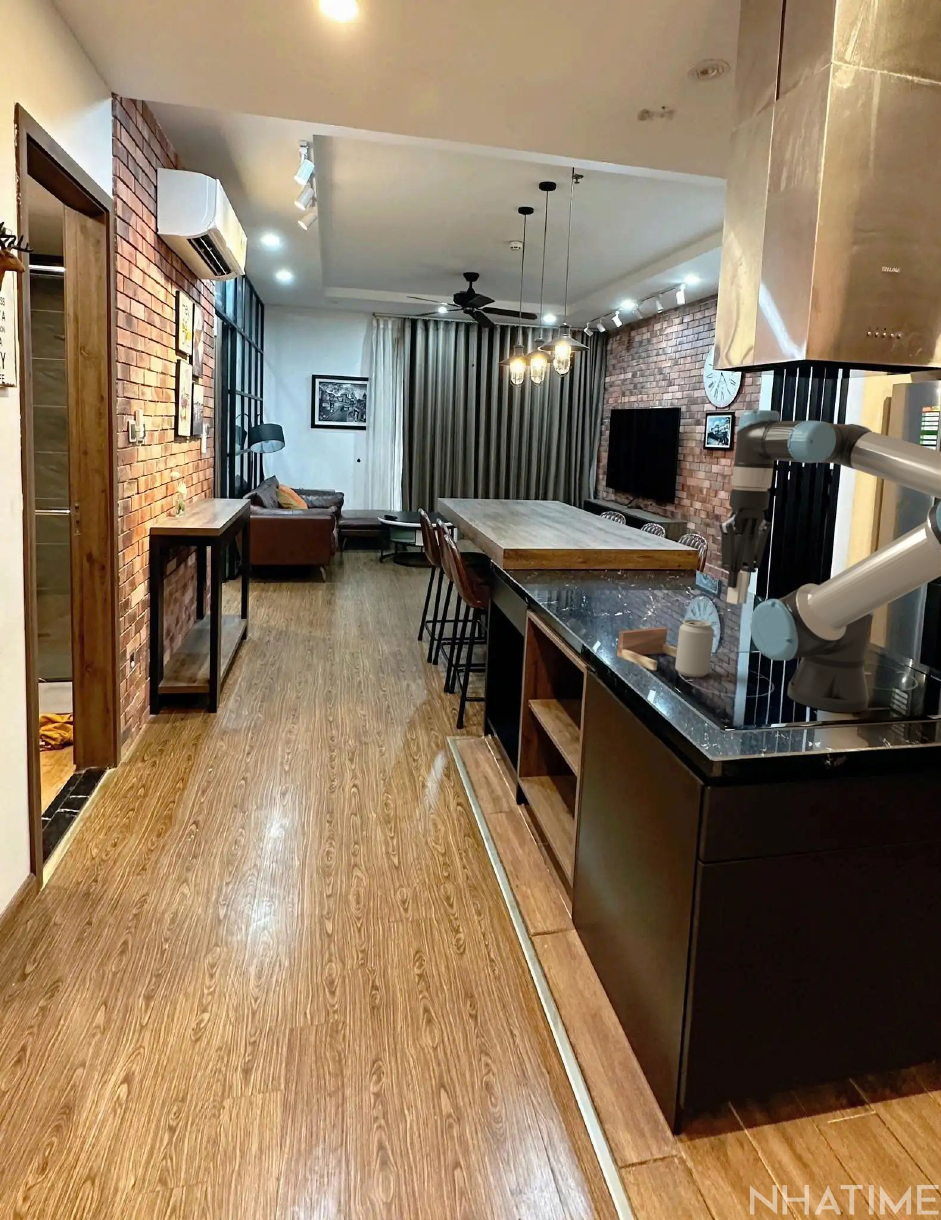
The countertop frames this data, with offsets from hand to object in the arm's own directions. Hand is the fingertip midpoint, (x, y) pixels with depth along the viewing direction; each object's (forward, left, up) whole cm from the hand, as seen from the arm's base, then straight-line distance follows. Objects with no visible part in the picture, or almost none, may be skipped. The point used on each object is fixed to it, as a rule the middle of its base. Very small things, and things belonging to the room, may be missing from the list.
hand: (736, 602), depth 161 cm
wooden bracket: (+22, 0, -18) cm, 29 cm away
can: (+10, 0, -19) cm, 21 cm away
